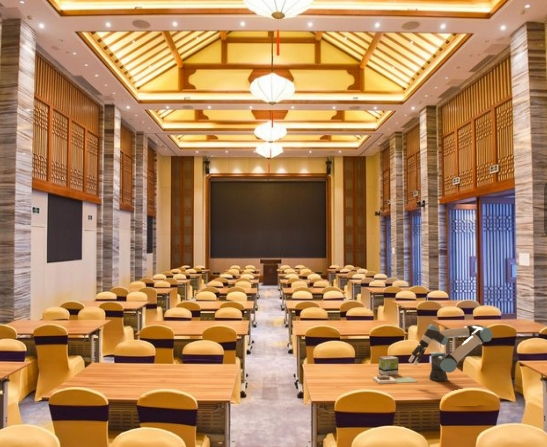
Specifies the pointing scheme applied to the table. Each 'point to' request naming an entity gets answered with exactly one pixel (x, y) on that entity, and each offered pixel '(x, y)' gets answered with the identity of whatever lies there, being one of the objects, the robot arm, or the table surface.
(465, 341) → the robot arm
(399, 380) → the mat
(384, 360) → the tea box
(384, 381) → the stand
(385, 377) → the name block
